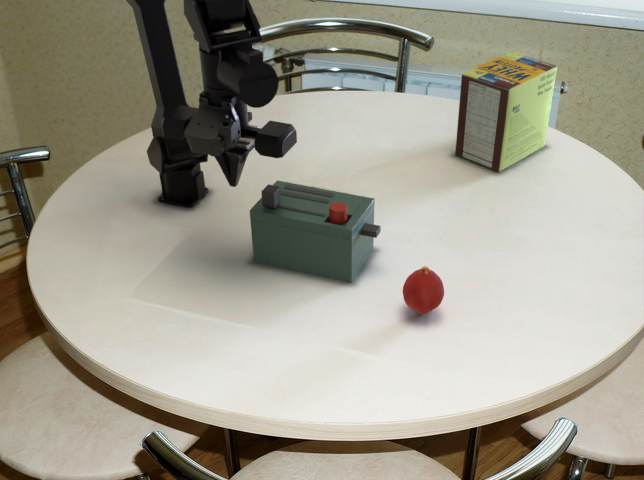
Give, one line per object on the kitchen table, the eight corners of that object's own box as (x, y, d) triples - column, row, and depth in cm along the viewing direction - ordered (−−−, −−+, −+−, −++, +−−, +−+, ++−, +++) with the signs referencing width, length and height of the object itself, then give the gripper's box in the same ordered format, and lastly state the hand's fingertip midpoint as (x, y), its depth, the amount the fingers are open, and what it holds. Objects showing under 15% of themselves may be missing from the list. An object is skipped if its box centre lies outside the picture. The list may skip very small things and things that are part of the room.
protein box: (545, 146, 163) (558, 65, 153) (498, 173, 154) (509, 89, 144) (500, 130, 168) (510, 50, 158) (453, 155, 160) (460, 72, 149)
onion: (399, 301, 124) (402, 254, 119) (439, 300, 124) (443, 253, 119) (404, 325, 119) (406, 278, 114) (444, 324, 120) (449, 276, 115)
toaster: (253, 262, 131) (249, 209, 125) (280, 230, 138) (277, 179, 132) (366, 286, 127) (367, 233, 121) (387, 252, 134) (389, 200, 128)
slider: (262, 206, 125) (261, 191, 124) (269, 198, 127) (268, 184, 125) (274, 208, 125) (273, 193, 123) (281, 201, 127) (280, 186, 125)
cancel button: (326, 222, 123) (326, 209, 122) (333, 214, 125) (333, 200, 124) (343, 226, 123) (343, 212, 121) (349, 217, 125) (349, 204, 123)
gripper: (132, 93, 112) (150, 199, 123) (261, 115, 108) (269, 223, 118) (174, 64, 120) (187, 165, 131) (296, 83, 116) (300, 187, 126)
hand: (234, 185), depth 126 cm, fingers closed
